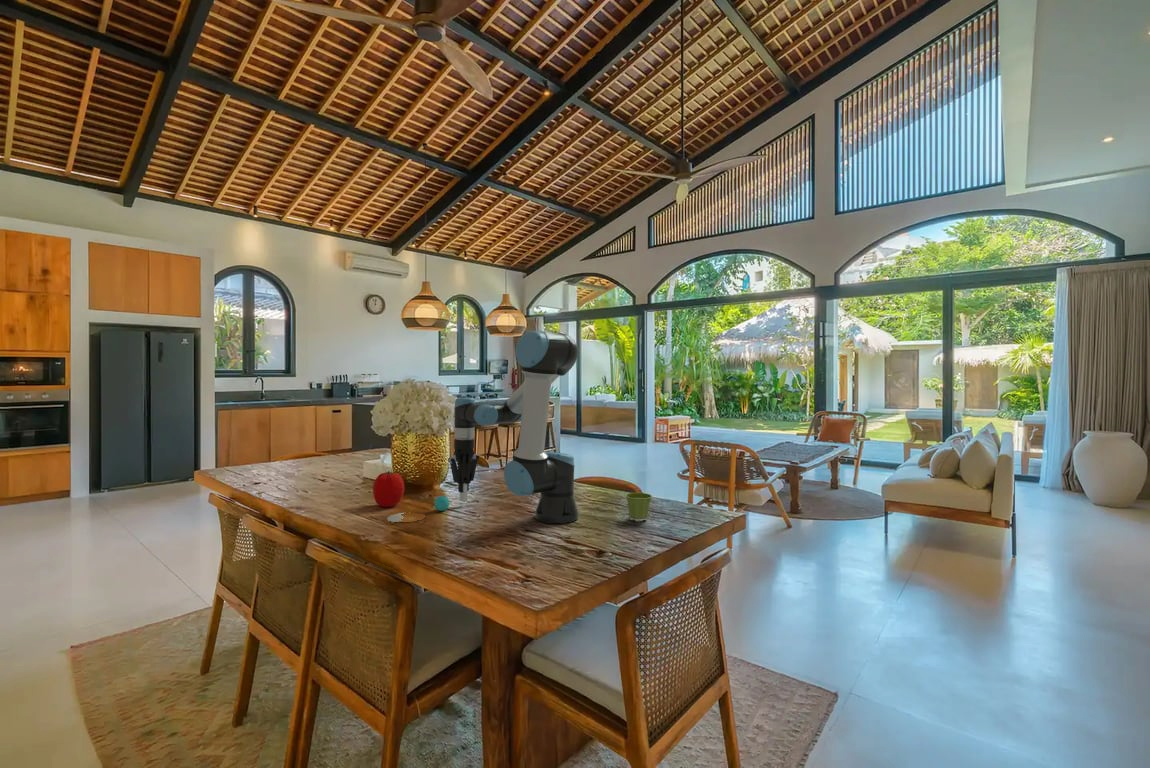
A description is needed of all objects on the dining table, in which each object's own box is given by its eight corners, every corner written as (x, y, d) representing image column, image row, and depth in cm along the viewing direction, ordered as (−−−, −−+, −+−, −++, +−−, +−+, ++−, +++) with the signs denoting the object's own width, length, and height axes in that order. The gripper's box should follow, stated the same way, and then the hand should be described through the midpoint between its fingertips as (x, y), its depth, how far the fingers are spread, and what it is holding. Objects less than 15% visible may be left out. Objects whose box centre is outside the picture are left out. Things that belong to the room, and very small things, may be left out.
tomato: (364, 508, 197) (364, 472, 196) (388, 501, 208) (388, 467, 208) (389, 511, 192) (389, 475, 192) (411, 504, 203) (412, 469, 203)
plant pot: (624, 523, 182) (624, 497, 182) (625, 515, 192) (625, 491, 191) (652, 524, 181) (652, 499, 181) (651, 517, 191) (651, 492, 190)
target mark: (433, 514, 189) (433, 513, 189) (413, 524, 177) (413, 523, 177) (400, 511, 192) (400, 511, 192) (379, 521, 180) (379, 520, 180)
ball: (452, 509, 197) (452, 494, 197) (445, 513, 191) (445, 497, 191) (438, 508, 198) (438, 493, 198) (431, 512, 193) (431, 496, 192)
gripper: (472, 436, 208) (471, 496, 209) (443, 438, 199) (442, 501, 199) (484, 438, 203) (483, 499, 204) (455, 440, 194) (454, 505, 194)
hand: (463, 500), depth 202 cm, fingers closed
